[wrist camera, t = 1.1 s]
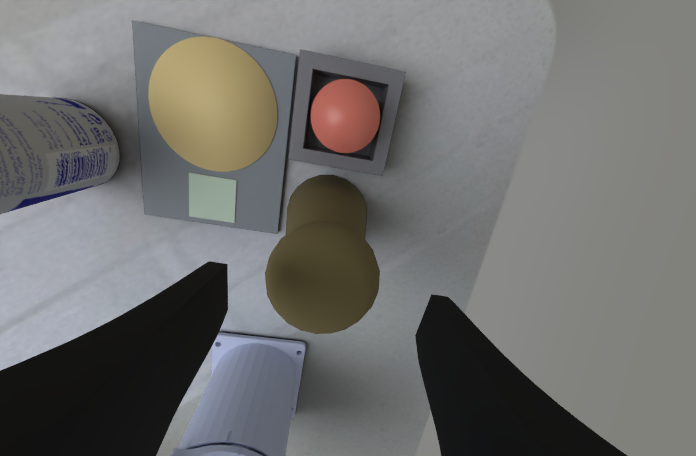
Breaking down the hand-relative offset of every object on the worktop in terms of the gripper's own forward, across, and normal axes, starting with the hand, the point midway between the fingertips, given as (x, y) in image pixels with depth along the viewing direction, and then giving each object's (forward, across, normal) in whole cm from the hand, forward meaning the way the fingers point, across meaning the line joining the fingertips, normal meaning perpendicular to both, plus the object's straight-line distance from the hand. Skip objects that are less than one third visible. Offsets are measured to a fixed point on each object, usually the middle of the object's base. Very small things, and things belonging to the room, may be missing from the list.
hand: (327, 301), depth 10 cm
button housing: (+13, 0, -5) cm, 14 cm away
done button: (+11, 0, -5) cm, 12 cm away
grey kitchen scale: (+12, +9, -2) cm, 15 cm away
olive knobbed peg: (+12, 0, +2) cm, 13 cm away
